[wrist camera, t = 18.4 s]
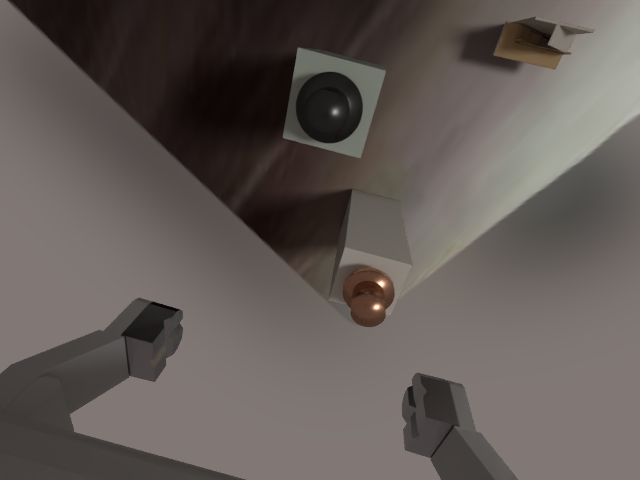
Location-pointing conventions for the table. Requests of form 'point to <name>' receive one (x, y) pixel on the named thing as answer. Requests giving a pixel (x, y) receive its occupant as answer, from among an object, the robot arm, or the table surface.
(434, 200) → the table surface
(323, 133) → the black plunger
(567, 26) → the architectural model
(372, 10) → the table surface
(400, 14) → the table surface
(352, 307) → the terracotta plunger
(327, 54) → the block
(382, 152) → the table surface
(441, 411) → the robot arm
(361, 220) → the block
